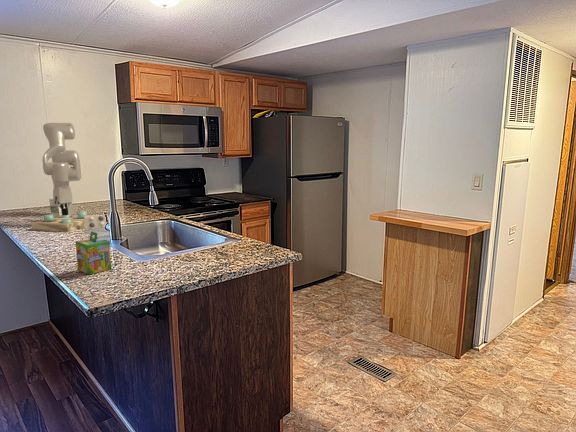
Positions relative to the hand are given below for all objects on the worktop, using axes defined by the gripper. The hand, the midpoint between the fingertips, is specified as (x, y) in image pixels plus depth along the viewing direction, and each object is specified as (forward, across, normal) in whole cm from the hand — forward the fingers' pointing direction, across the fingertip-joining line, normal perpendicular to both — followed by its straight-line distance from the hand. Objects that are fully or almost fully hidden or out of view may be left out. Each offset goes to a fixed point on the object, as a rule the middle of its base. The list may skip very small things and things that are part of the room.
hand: (65, 214), depth 241 cm
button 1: (+2, +12, 0) cm, 12 cm away
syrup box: (+6, -8, -13) cm, 16 cm away
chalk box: (+7, +70, +79) cm, 105 cm away
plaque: (+6, +5, +26) cm, 27 cm away
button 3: (+4, +12, +12) cm, 17 cm away
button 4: (+2, 0, +12) cm, 12 cm away
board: (+6, +6, +6) cm, 10 cm away
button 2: (+4, 0, 0) cm, 4 cm away
